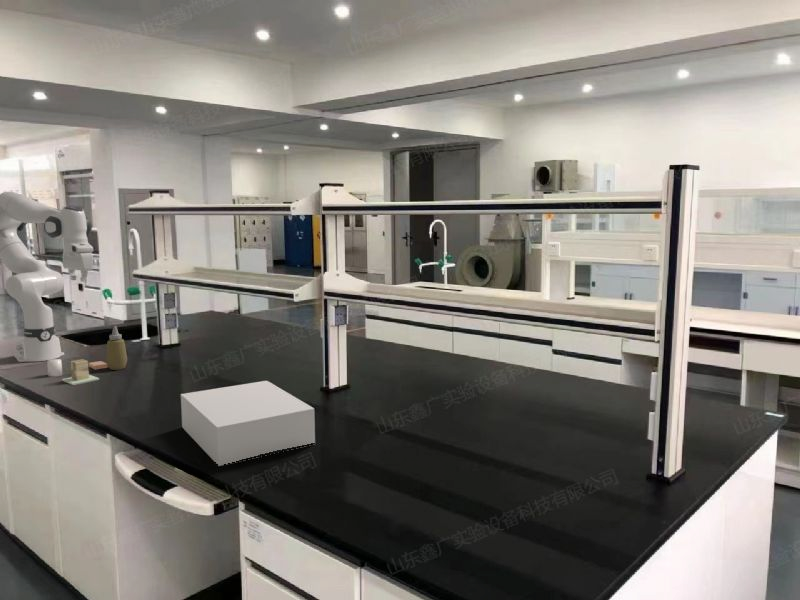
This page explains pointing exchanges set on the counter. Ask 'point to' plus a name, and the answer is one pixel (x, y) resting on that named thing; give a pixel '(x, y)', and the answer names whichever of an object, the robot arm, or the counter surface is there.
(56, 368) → the white rounded dome
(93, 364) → the terracotta tile
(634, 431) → the counter surface
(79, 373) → the maple block
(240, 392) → the box
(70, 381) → the mat
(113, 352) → the squeeze bottle
